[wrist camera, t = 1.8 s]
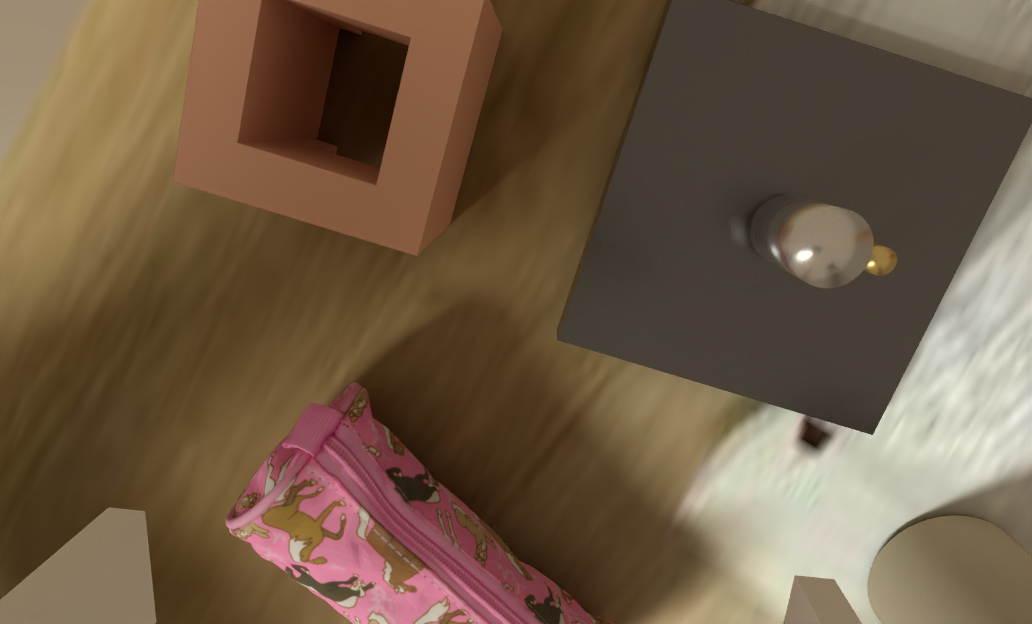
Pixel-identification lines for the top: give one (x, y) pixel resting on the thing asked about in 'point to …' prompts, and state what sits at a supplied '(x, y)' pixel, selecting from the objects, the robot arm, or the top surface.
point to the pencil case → (384, 530)
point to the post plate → (780, 143)
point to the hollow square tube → (300, 102)
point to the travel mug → (952, 575)
